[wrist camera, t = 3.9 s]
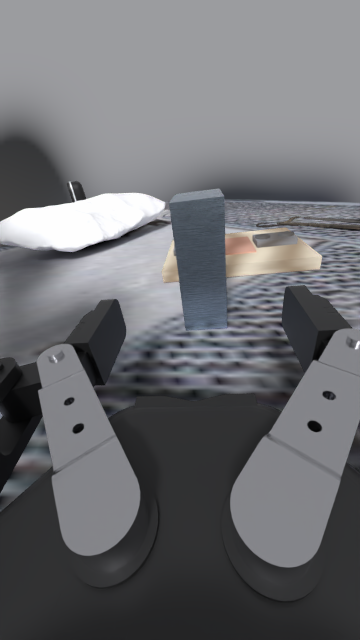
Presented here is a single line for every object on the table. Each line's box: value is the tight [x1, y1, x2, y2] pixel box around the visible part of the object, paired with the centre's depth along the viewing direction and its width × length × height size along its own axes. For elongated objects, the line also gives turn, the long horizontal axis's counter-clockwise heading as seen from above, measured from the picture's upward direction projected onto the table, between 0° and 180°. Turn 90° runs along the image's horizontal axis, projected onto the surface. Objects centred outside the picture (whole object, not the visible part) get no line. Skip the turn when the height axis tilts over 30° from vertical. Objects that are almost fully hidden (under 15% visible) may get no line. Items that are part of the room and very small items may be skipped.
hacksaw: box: [256, 216, 360, 230], centre depth 42 cm, size 24×10×2 cm, turn 35°
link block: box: [169, 189, 227, 330], centre depth 21 cm, size 4×5×10 cm
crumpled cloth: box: [0, 193, 165, 252], centre depth 52 cm, size 24×35×9 cm
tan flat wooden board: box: [162, 228, 322, 283], centre depth 35 cm, size 18×14×2 cm
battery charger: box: [67, 181, 86, 203], centre depth 72 cm, size 7×4×11 cm, turn 22°
